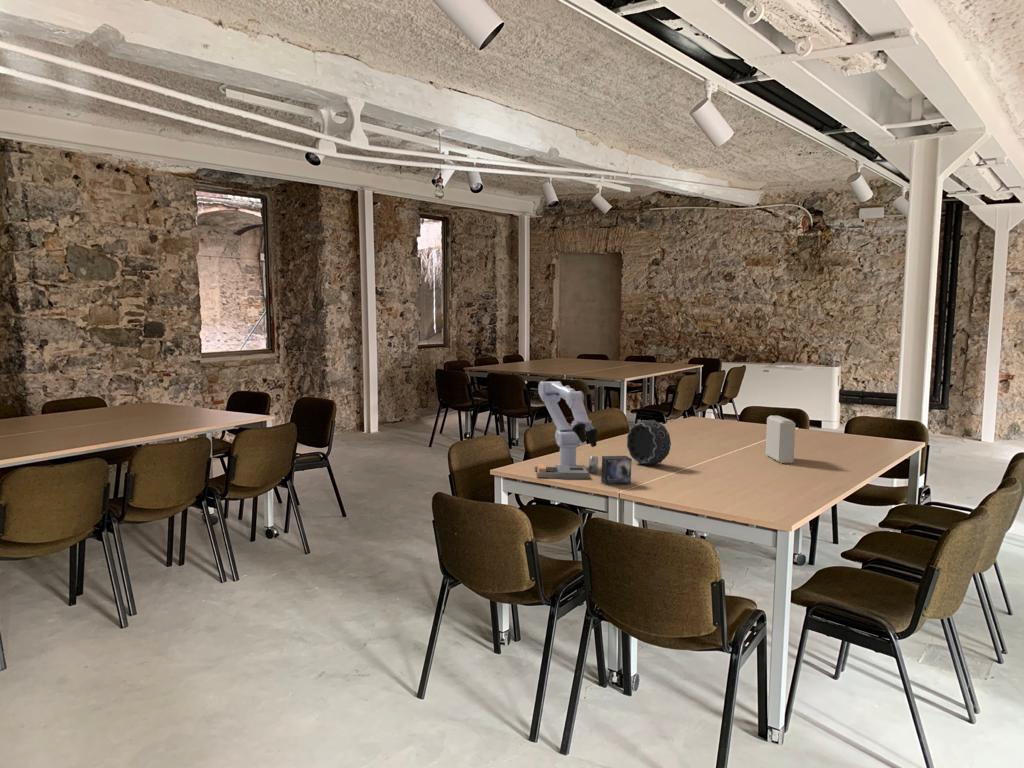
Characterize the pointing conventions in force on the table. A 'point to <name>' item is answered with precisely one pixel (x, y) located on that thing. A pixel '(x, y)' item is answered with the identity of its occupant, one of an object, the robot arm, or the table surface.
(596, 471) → the axle peg
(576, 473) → the grey flat plate
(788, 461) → the grey upright block
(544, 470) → the latch bar
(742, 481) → the table surface
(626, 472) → the small box
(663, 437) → the black toy wheel
